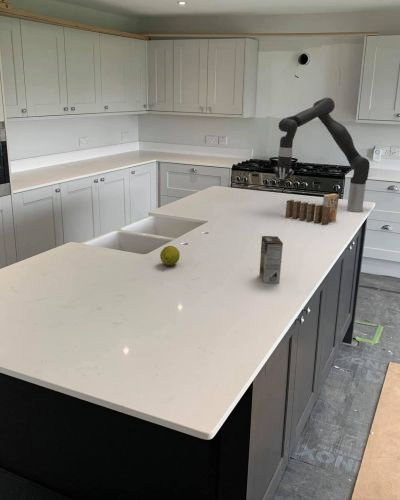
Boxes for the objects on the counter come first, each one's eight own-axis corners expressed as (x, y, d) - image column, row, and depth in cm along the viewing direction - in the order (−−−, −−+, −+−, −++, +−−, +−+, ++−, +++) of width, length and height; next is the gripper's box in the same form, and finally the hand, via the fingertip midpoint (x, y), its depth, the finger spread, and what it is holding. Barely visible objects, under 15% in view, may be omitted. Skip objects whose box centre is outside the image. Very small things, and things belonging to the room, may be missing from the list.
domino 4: (310, 220, 292) (312, 203, 289) (313, 220, 291) (315, 203, 288) (306, 221, 288) (308, 204, 285) (309, 222, 287) (311, 204, 284)
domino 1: (289, 216, 300) (291, 199, 297) (292, 216, 299) (294, 200, 296) (285, 217, 296) (286, 200, 293) (288, 218, 295) (289, 201, 292)
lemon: (166, 260, 217) (166, 241, 214) (183, 262, 214) (183, 244, 212) (155, 267, 207) (155, 248, 205) (172, 270, 204) (172, 251, 202)
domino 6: (325, 223, 287) (327, 205, 284) (328, 223, 286) (330, 206, 283) (321, 224, 283) (323, 207, 280) (324, 225, 282) (326, 207, 279)
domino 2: (296, 217, 297) (298, 200, 294) (299, 218, 296) (301, 201, 293) (292, 219, 294) (293, 201, 291) (295, 219, 292) (297, 202, 289)
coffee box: (258, 274, 202) (261, 235, 198) (274, 274, 203) (277, 235, 198) (263, 283, 194) (266, 242, 189) (279, 283, 194) (283, 242, 190)
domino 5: (317, 221, 289) (319, 204, 286) (321, 222, 288) (323, 204, 285) (314, 223, 286) (315, 205, 283) (317, 223, 285) (319, 206, 282)
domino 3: (303, 218, 295) (305, 201, 292) (306, 219, 294) (308, 202, 291) (299, 220, 291) (301, 203, 288) (302, 221, 290) (304, 203, 287)
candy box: (330, 219, 295) (333, 193, 291) (336, 221, 292) (339, 194, 287) (320, 221, 290) (323, 194, 285) (326, 223, 287) (329, 196, 282)
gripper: (271, 154, 290) (268, 184, 296) (292, 157, 283) (289, 188, 288) (278, 153, 296) (275, 183, 301) (298, 156, 289) (295, 186, 294)
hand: (282, 185), depth 295 cm, fingers closed
